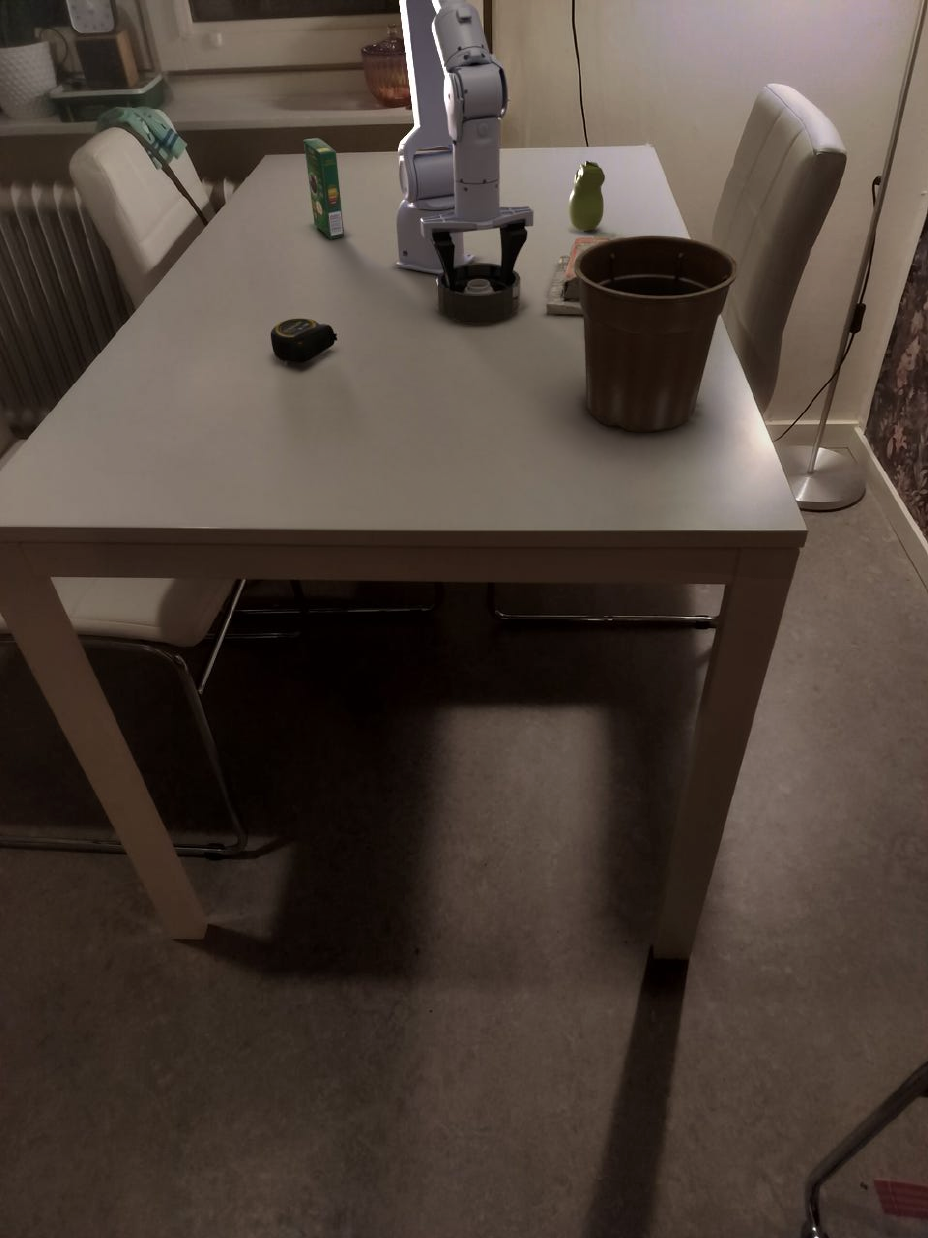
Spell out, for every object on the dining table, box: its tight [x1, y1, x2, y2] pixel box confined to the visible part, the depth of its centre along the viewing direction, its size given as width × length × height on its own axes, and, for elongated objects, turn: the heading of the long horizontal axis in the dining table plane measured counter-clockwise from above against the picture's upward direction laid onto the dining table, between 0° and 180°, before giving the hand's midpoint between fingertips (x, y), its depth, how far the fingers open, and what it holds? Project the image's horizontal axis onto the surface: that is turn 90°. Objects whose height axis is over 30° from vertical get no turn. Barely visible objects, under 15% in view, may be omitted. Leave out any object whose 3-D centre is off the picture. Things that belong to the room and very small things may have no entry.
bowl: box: [435, 262, 522, 324], centre depth 119 cm, size 11×11×4 cm
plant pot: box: [574, 235, 739, 433], centre depth 94 cm, size 16×16×16 cm
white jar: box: [463, 279, 494, 294], centre depth 119 cm, size 5×3×5 cm
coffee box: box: [303, 137, 345, 240], centre depth 140 cm, size 8×3×13 cm, turn 26°
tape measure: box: [270, 317, 338, 364], centre depth 110 cm, size 7×7×4 cm
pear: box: [568, 160, 606, 232], centre depth 139 cm, size 6×5×10 cm
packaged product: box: [546, 236, 612, 315], centre depth 122 cm, size 18×5×10 cm
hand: (478, 285), depth 118 cm, fingers open, 7 cm apart
